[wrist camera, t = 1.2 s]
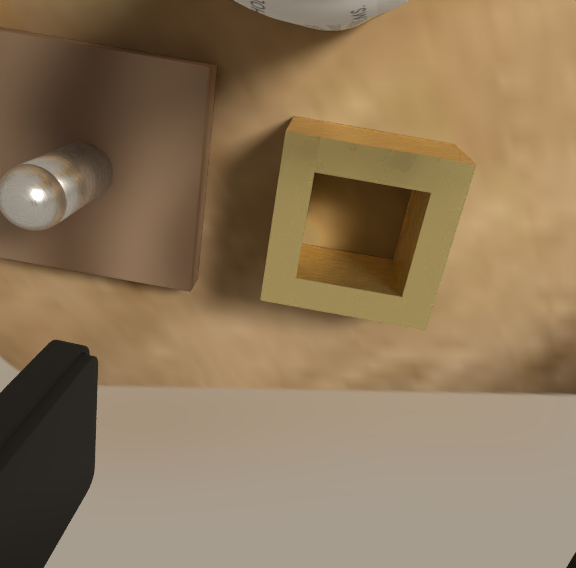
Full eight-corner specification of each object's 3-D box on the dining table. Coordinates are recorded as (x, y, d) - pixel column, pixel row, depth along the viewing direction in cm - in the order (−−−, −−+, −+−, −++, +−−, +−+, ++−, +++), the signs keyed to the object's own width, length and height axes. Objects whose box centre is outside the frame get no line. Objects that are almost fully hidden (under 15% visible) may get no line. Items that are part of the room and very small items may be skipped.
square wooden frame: (454, 144, 23) (476, 164, 19) (413, 288, 26) (425, 330, 22) (294, 115, 23) (285, 131, 20) (271, 263, 26) (260, 300, 23)
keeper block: (217, 64, 23) (168, 76, 16) (197, 278, 27) (153, 355, 20) (-16, 24, 23) (-156, 20, 16) (1, 243, 27) (-104, 308, 21)
